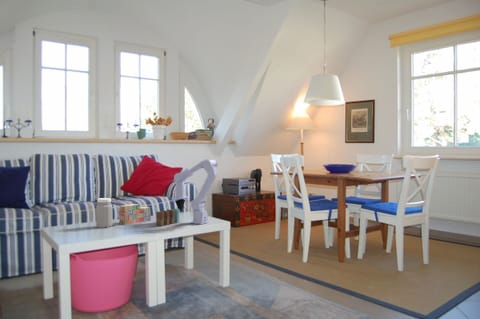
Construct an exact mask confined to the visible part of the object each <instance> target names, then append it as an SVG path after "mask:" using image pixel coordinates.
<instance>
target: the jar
mask: <svg viewBox="0 0 480 319" xmlns="http://www.w3.org/2000/svg"><path fill="white" fill-rule="evenodd" d="M95 211H96V213H95V217H96V218H95V222H96V225H95V226H96V227H97V228H98V229H107V228H108V227H109V228H112V226H113V223H114V222H113V205H112V198H111V197H100V198H97V204H96V206H95Z"/></svg>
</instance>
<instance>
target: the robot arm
mask: <svg viewBox="0 0 480 319" xmlns="http://www.w3.org/2000/svg"><path fill="white" fill-rule="evenodd" d="M218 166H219V165H218V162H217V161H216V159H213V158H212V159H204V160H202V161H200V162H198V163H197V164H195V165H194V166H192V167H186V168H185V169H184V170H181V171H180V172H177V173H175V174H174V176H173V178H174V181H175V196H173V197H171V201H172V202H174V203H175V204H176V206H177V209H179V212H180V211H183V208H184V204H185V202H186V200H188V199H189V196H188V195H185V181H186V180H187V179H188V178H190V177H192V176H193V175H194V173H195V172H197V171H199V170H202V169H203V170H204V171H206V173H207V175H206V179H205V181H204V182H203V185H202V187H201V188H200V191H199V192H198V195H197V196H196V197H195V198H194V200H192V201H191V203H190V207H191V209H192V221H190V222H189V223H190V224H197V225H205V224H209V221H208V216H209V215H208V211H207V210H205V207H206V203H207V200H208V199H207V196H208V195H209V192H210V191H211V189H212V186H213V184H214V182H215V180H216V177H218V176H217V175H218Z"/></svg>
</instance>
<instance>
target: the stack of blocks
mask: <svg viewBox="0 0 480 319" xmlns="http://www.w3.org/2000/svg"><path fill="white" fill-rule="evenodd" d="M118 207H119V208H118V209H119V210H118V212H119V214H118V216H119V219H118V220H119V225H122V226H123V225H124V226H126V225H133V224H138V223H143V222H148V221H151V220H152V218H151V215H152V214H151V206H141V204H139V203H131V204H130V203H129V204H124V205H119V206H118Z"/></svg>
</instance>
